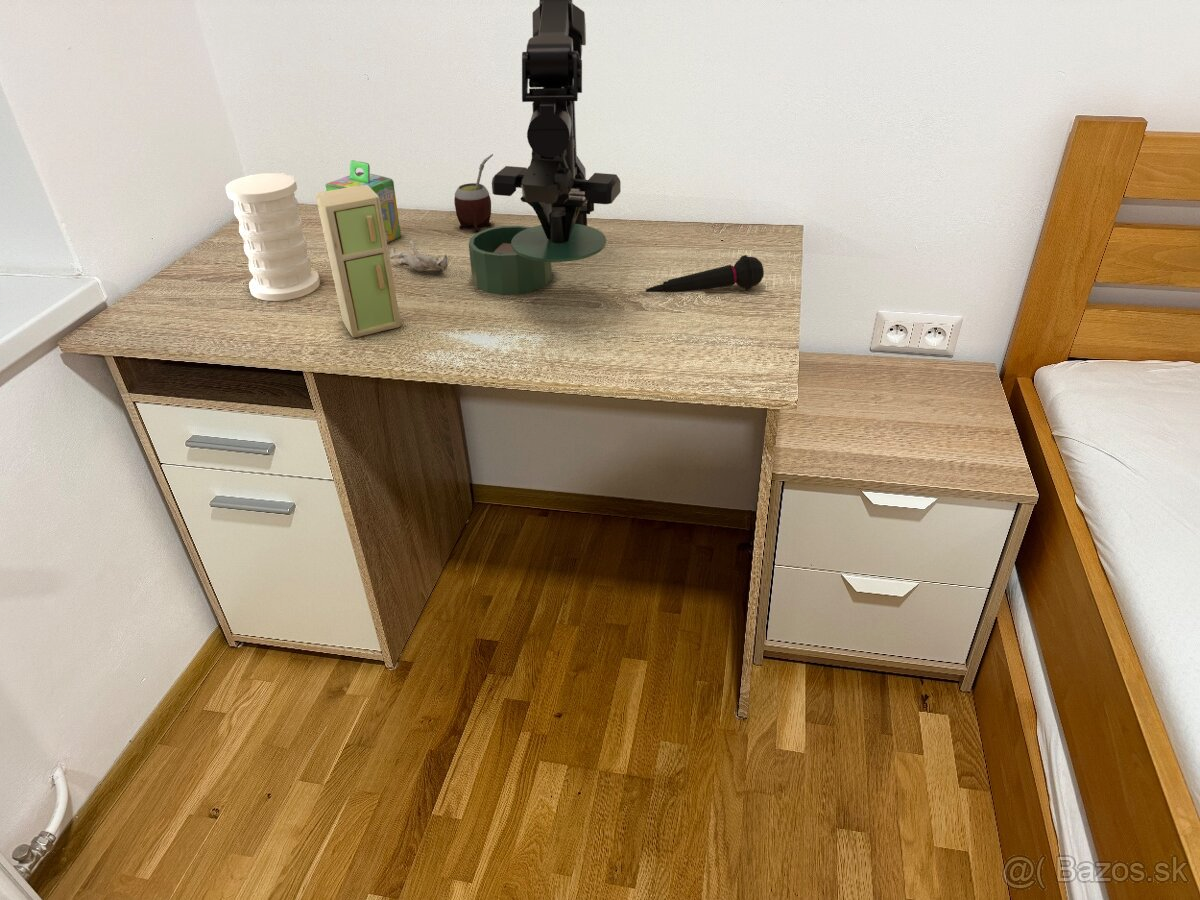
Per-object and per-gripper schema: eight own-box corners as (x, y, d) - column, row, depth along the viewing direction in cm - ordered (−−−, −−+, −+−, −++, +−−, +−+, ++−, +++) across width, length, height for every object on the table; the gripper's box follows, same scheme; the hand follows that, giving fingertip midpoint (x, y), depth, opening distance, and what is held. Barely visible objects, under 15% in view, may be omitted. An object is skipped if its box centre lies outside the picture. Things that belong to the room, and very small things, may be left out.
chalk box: (334, 243, 166) (319, 166, 157) (368, 228, 172) (355, 153, 164) (369, 252, 162) (355, 173, 153) (403, 237, 168) (391, 160, 160)
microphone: (650, 314, 145) (766, 293, 145) (648, 289, 141) (768, 267, 141) (644, 292, 148) (757, 271, 149) (642, 267, 144) (759, 245, 144)
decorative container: (278, 270, 156) (254, 169, 146) (333, 277, 153) (312, 175, 142) (236, 295, 147) (207, 191, 137) (293, 304, 144) (268, 198, 133)
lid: (582, 223, 143) (581, 192, 140) (622, 254, 132) (622, 221, 129) (498, 239, 138) (495, 207, 135) (532, 273, 127) (530, 238, 124)
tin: (534, 260, 158) (532, 220, 153) (564, 288, 147) (562, 246, 143) (463, 274, 153) (458, 233, 149) (488, 303, 143) (484, 261, 138)
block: (505, 272, 152) (502, 242, 149) (529, 274, 151) (527, 245, 148) (495, 282, 149) (492, 252, 146) (520, 285, 147) (518, 255, 144)
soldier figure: (415, 262, 160) (463, 252, 154) (410, 286, 159) (459, 277, 153) (384, 242, 154) (433, 232, 148) (379, 267, 153) (428, 258, 146)
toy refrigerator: (352, 341, 133) (325, 207, 121) (341, 322, 138) (314, 192, 126) (403, 329, 136) (381, 197, 124) (390, 311, 141) (368, 183, 129)
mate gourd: (455, 222, 174) (447, 147, 166) (494, 219, 176) (487, 143, 167) (459, 235, 168) (451, 157, 160) (499, 231, 170) (493, 154, 161)
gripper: (472, 148, 121) (482, 253, 130) (599, 157, 117) (601, 265, 126) (501, 127, 130) (509, 227, 139) (621, 134, 125) (621, 237, 135)
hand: (558, 239), depth 134 cm, fingers closed on lid, 3 cm apart
